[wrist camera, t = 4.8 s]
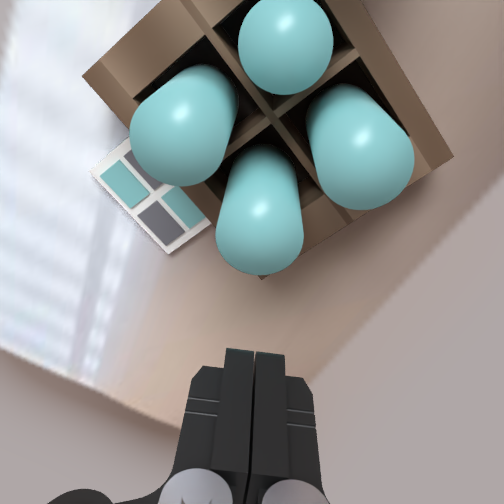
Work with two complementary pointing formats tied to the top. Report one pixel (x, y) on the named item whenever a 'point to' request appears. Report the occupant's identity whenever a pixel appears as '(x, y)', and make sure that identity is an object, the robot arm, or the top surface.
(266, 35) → the teal capsule
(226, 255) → the light turquoise rounded peg
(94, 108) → the top surface
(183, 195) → the tile
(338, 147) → the turquoise cylinder
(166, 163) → the pale teal rounded cylinder
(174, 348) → the top surface
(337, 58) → the wooden compartment tray
